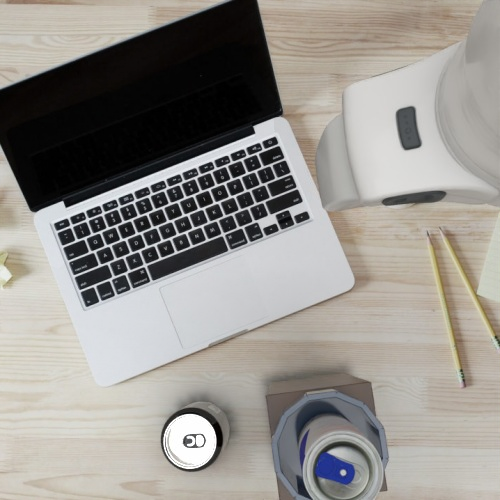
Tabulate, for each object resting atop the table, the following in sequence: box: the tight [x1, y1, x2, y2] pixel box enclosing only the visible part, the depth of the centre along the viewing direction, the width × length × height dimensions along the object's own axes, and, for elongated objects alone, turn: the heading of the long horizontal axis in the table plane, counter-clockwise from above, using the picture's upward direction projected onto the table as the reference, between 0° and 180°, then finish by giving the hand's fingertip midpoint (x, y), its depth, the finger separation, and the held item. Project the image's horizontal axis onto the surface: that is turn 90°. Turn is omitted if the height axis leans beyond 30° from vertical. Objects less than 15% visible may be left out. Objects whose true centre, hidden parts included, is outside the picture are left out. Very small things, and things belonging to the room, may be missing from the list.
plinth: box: [265, 372, 388, 500], centre depth 73 cm, size 9×9×27 cm
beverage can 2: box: [298, 413, 383, 500], centre depth 52 cm, size 5×5×15 cm
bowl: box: [270, 388, 390, 500], centre depth 57 cm, size 9×9×5 cm
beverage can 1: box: [160, 401, 231, 473], centre depth 81 cm, size 7×7×12 cm
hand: (457, 181), depth 50 cm, fingers open, 8 cm apart
